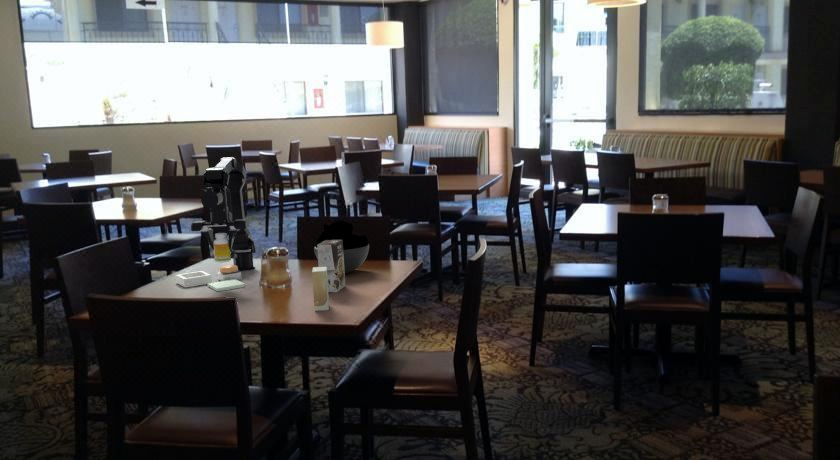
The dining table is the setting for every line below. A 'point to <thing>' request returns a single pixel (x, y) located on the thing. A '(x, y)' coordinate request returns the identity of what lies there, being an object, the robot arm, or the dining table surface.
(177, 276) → the white square tray
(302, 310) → the dining table surface
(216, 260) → the supplement bottle
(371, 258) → the dining table surface
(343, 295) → the dining table surface
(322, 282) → the skincare box
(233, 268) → the orange round lump
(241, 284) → the pad
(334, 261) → the coffee box
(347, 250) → the coal bowl
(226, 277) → the plunger collar
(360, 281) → the dining table surface
